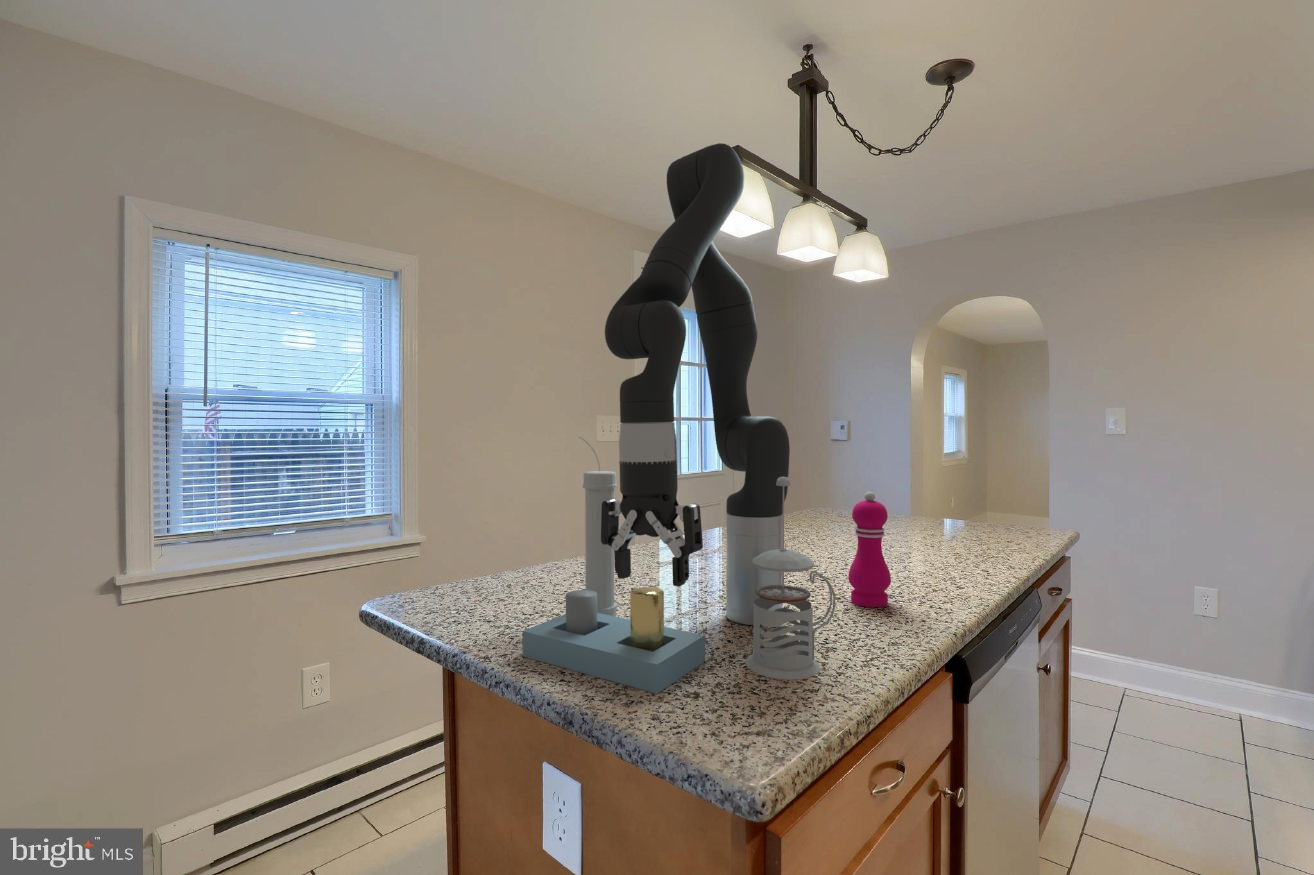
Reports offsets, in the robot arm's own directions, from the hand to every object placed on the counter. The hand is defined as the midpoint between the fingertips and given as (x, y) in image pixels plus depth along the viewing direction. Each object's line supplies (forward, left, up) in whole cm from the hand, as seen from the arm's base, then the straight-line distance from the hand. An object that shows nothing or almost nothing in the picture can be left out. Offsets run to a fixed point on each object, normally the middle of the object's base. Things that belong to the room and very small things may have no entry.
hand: (651, 581), depth 80 cm
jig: (0, -6, -11) cm, 13 cm away
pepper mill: (-46, +17, -12) cm, 50 cm away
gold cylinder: (0, 0, -11) cm, 11 cm away
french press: (-11, +15, -12) cm, 22 cm away
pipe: (-12, -18, -12) cm, 24 cm away
